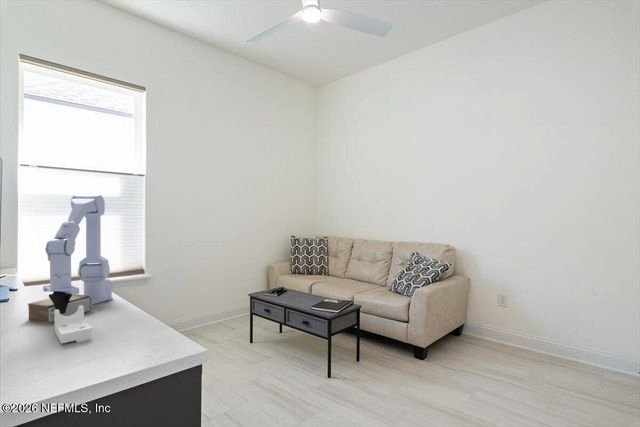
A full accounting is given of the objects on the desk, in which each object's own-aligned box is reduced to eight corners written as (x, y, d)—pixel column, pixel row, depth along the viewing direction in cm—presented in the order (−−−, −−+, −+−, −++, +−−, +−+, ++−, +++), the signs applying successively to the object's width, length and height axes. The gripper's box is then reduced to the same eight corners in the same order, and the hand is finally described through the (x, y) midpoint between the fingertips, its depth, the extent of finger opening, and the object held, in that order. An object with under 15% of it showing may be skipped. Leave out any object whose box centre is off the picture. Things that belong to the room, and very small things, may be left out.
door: (90, 309, 128) (90, 297, 128) (93, 310, 128) (93, 297, 128) (48, 322, 114) (48, 308, 114) (51, 322, 114) (51, 308, 114)
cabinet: (70, 308, 131) (70, 293, 131) (89, 310, 128) (89, 295, 128) (28, 319, 118) (27, 303, 118) (48, 322, 114) (48, 306, 114)
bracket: (54, 334, 105) (54, 309, 105) (82, 328, 110) (82, 305, 110) (61, 346, 95) (61, 319, 95) (91, 340, 100) (91, 314, 100)
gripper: (33, 274, 115) (33, 315, 115) (63, 277, 110) (64, 319, 110) (55, 271, 121) (55, 309, 122) (85, 273, 117) (85, 313, 117)
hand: (61, 313), depth 116 cm, fingers closed
